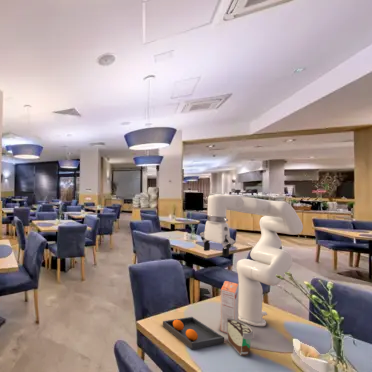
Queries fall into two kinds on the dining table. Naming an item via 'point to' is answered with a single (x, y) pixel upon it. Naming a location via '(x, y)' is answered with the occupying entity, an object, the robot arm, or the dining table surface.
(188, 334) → the clementine
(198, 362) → the dining table surface
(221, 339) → the fruit tray
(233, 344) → the food container
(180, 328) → the clementine
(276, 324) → the dining table surface
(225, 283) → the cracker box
